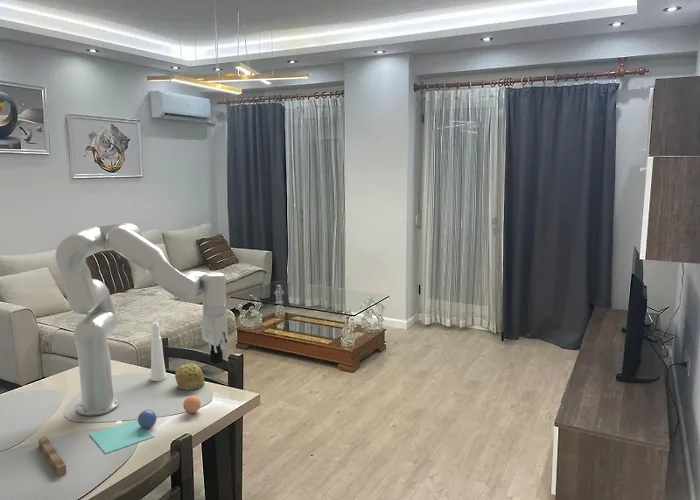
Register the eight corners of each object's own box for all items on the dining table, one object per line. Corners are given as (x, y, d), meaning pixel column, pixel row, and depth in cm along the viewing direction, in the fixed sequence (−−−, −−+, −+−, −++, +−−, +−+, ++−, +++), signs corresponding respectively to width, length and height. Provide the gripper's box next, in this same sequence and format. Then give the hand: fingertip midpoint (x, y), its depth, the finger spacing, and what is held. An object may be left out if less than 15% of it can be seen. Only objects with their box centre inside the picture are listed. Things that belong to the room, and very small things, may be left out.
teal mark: (89, 435, 163) (89, 434, 163) (135, 420, 173) (135, 419, 172) (105, 453, 153) (105, 453, 153) (153, 437, 162) (153, 436, 162)
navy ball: (135, 426, 168) (134, 410, 167) (152, 421, 172) (151, 405, 171) (142, 433, 164) (141, 416, 163) (159, 427, 168) (158, 411, 167)
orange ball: (180, 411, 178) (180, 396, 177) (196, 406, 182) (195, 391, 181) (188, 417, 174) (187, 402, 173) (204, 412, 178) (203, 396, 177)
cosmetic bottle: (153, 374, 208) (150, 320, 204) (169, 375, 208) (166, 320, 204) (147, 381, 202) (143, 325, 198) (163, 381, 202) (160, 325, 198)
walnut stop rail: (39, 446, 157) (38, 438, 156) (46, 443, 158) (45, 436, 158) (58, 476, 142) (57, 467, 142) (66, 473, 144) (65, 465, 143)
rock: (190, 401, 194) (203, 379, 192) (165, 384, 195) (178, 362, 193) (202, 392, 203) (214, 370, 202) (177, 375, 204) (190, 354, 202)
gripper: (193, 306, 182) (195, 358, 185) (216, 317, 170) (218, 371, 174) (213, 302, 187) (215, 353, 190) (236, 312, 175) (238, 365, 179)
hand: (216, 361), depth 182 cm, fingers closed
